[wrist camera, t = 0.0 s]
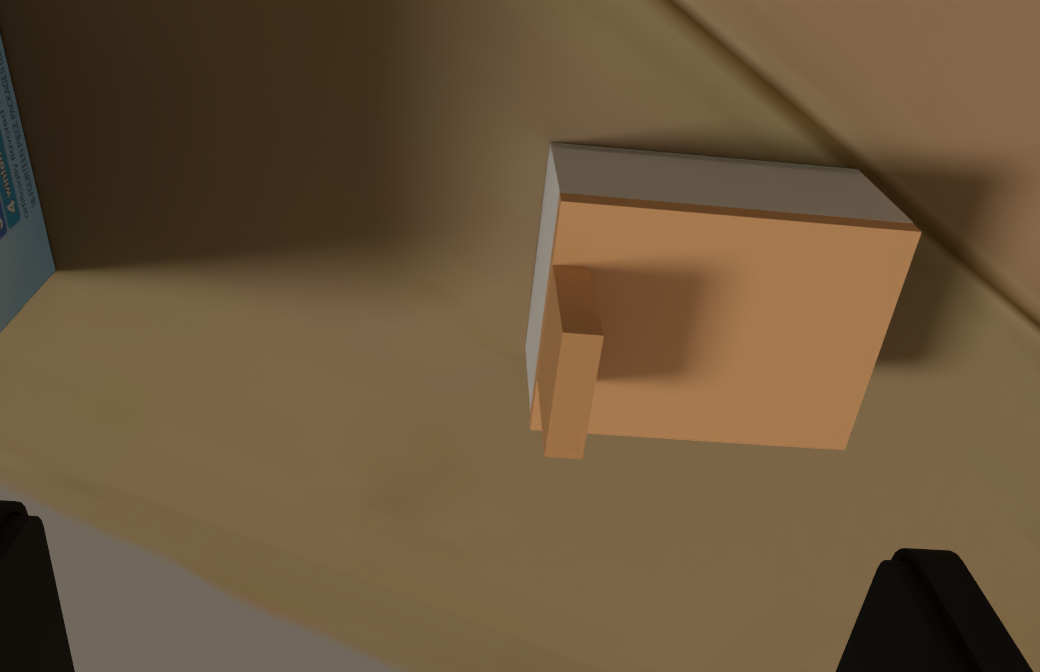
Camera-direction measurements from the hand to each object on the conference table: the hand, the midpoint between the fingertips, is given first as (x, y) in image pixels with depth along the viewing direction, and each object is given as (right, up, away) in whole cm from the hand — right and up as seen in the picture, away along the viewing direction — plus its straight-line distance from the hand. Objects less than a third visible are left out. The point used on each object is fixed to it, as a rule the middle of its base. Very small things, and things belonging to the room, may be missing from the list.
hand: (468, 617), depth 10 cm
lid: (+10, +4, +34) cm, 35 cm away
